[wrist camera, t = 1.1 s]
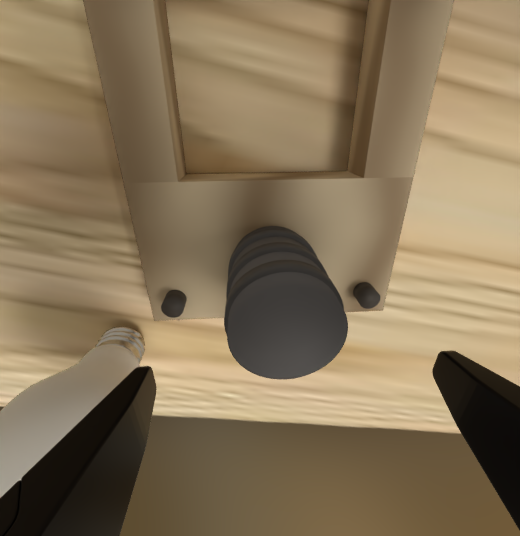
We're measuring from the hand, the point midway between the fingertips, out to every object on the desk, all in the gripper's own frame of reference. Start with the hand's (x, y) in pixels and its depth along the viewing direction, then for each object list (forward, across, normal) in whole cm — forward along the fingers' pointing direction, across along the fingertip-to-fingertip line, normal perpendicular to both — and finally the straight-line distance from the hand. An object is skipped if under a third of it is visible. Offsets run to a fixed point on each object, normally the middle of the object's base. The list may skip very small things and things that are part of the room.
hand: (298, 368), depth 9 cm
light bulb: (+10, +10, +7) cm, 16 cm away
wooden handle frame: (+10, 0, -4) cm, 11 cm away
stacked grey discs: (+8, 0, 0) cm, 8 cm away
